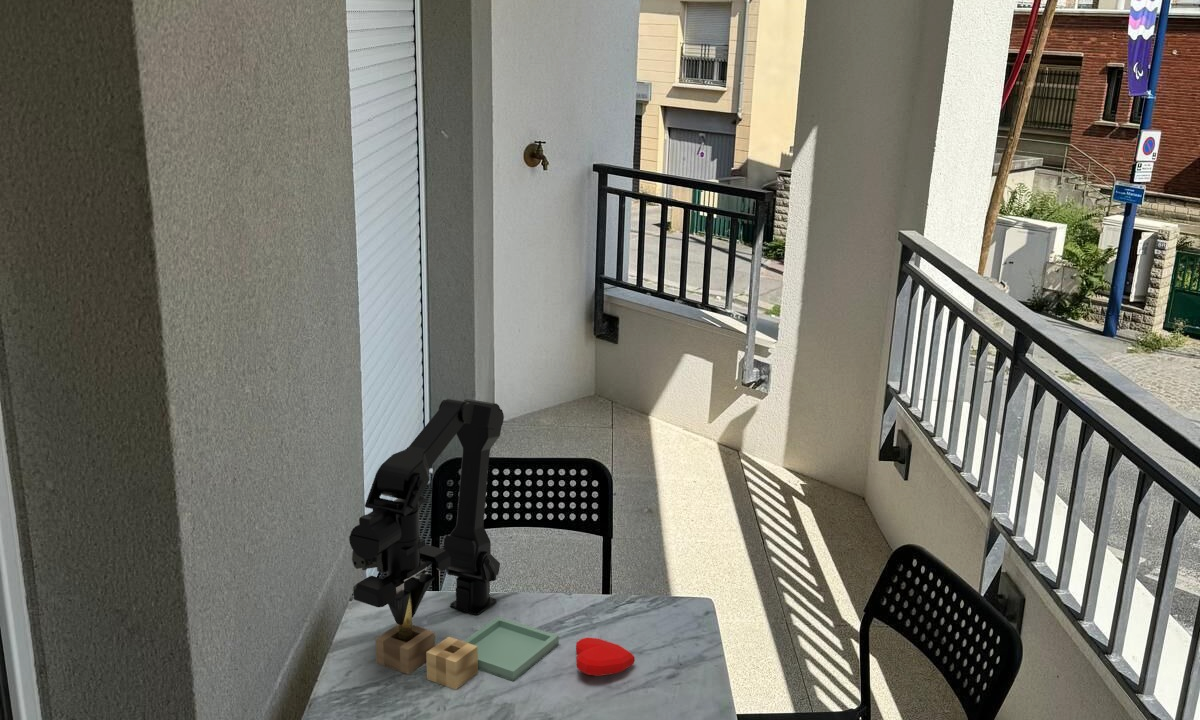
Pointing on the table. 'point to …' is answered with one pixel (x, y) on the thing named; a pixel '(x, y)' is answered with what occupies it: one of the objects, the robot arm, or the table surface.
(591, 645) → the heart
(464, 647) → the oak block
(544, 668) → the table surface
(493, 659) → the green tray
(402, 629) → the brass pin
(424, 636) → the walnut block
